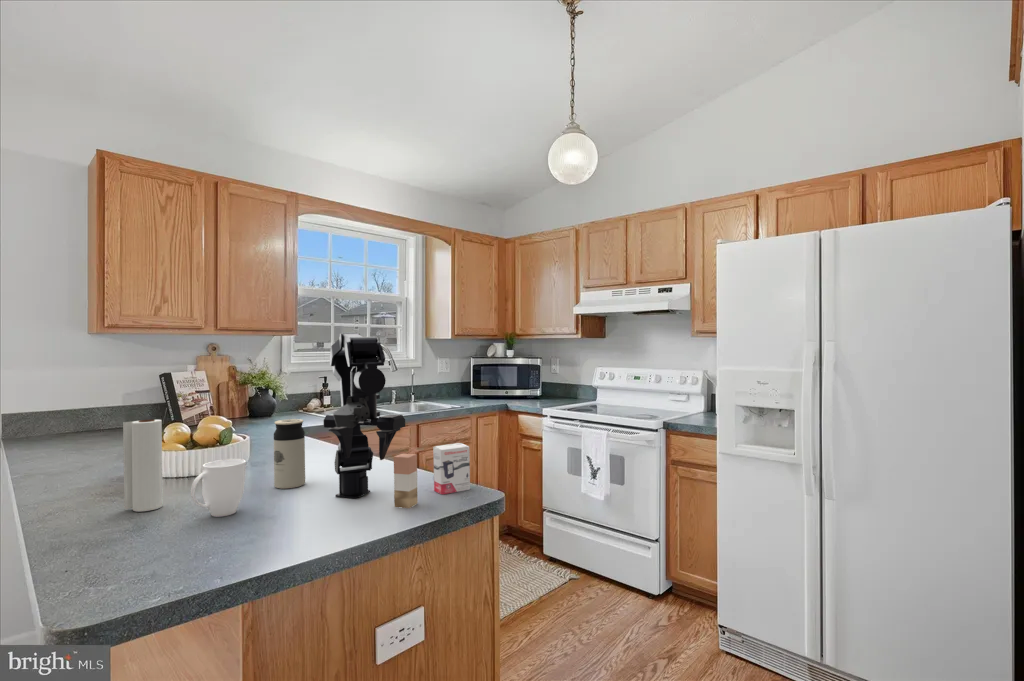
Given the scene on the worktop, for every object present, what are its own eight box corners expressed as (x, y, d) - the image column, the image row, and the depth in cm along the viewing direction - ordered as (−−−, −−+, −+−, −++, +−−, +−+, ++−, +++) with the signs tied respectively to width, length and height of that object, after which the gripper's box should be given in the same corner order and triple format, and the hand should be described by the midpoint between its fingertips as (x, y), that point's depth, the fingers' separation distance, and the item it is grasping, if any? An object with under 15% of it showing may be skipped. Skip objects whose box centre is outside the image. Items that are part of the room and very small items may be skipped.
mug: (230, 505, 131) (230, 456, 131) (253, 511, 126) (253, 460, 126) (181, 519, 120) (181, 466, 120) (204, 526, 116) (205, 471, 116)
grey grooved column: (168, 506, 131) (167, 419, 131) (142, 513, 125) (141, 422, 126) (150, 503, 134) (149, 417, 134) (124, 510, 128) (122, 421, 129)
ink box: (441, 495, 137) (441, 449, 137) (433, 490, 141) (432, 446, 141) (470, 489, 142) (470, 445, 142) (462, 485, 146) (461, 442, 146)
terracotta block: (393, 473, 128) (393, 456, 128) (402, 469, 131) (402, 453, 131) (408, 474, 126) (408, 457, 126) (417, 470, 130) (416, 454, 130)
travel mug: (297, 480, 154) (296, 418, 155) (310, 485, 149) (309, 420, 149) (269, 485, 149) (268, 421, 149) (281, 491, 143) (280, 423, 143)
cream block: (394, 490, 128) (394, 473, 128) (403, 485, 131) (402, 469, 131) (409, 491, 126) (408, 474, 126) (417, 487, 130) (417, 470, 130)
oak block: (394, 507, 127) (394, 490, 128) (403, 502, 131) (402, 485, 131) (409, 508, 126) (409, 491, 126) (417, 503, 130) (417, 487, 130)
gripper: (306, 393, 119) (307, 463, 119) (378, 395, 113) (379, 469, 113) (338, 389, 129) (339, 453, 129) (406, 390, 123) (407, 458, 123)
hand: (364, 458), depth 123 cm, fingers open, 9 cm apart
